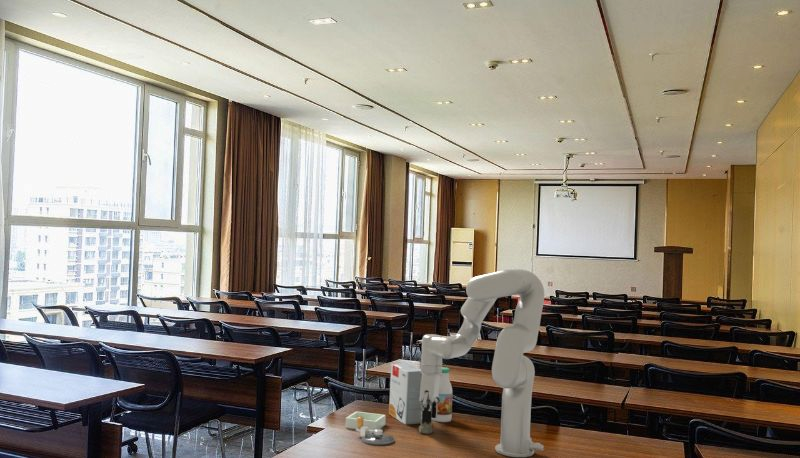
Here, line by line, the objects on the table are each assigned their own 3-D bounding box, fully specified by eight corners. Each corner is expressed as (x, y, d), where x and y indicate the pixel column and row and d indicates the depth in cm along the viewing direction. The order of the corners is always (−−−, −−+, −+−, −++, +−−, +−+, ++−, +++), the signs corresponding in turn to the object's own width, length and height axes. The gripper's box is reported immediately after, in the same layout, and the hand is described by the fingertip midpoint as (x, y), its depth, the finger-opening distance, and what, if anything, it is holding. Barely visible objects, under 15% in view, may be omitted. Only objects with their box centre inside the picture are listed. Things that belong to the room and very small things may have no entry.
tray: (385, 424, 246) (385, 415, 246) (375, 431, 236) (376, 421, 236) (355, 421, 249) (356, 411, 249) (345, 427, 239) (345, 417, 239)
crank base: (398, 438, 229) (398, 426, 229) (387, 447, 218) (388, 434, 218) (366, 434, 232) (367, 422, 232) (355, 442, 222) (355, 430, 222)
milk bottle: (429, 421, 254) (431, 368, 255) (434, 416, 261) (436, 365, 262) (448, 423, 252) (451, 370, 252) (453, 419, 259) (455, 367, 260)
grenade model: (436, 435, 235) (438, 392, 235) (417, 433, 236) (419, 391, 237) (439, 430, 241) (441, 389, 241) (420, 429, 242) (422, 387, 243)
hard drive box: (388, 414, 261) (390, 363, 262) (405, 413, 264) (407, 363, 265) (405, 425, 247) (407, 371, 248) (423, 423, 250) (425, 370, 251)
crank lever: (384, 436, 226) (385, 421, 226) (379, 438, 223) (379, 423, 223) (359, 430, 231) (360, 416, 231) (354, 432, 228) (355, 418, 229)
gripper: (427, 364, 249) (425, 413, 248) (414, 372, 232) (412, 424, 232) (447, 366, 246) (444, 415, 246) (435, 374, 230) (433, 426, 229)
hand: (429, 419), depth 239 cm, fingers open, 6 cm apart
